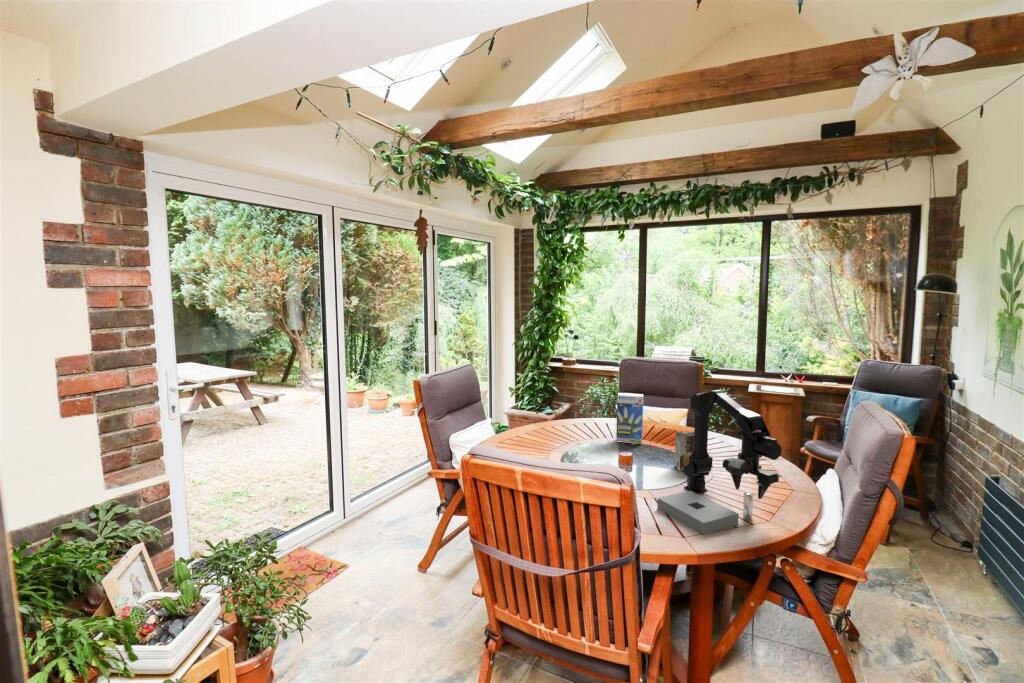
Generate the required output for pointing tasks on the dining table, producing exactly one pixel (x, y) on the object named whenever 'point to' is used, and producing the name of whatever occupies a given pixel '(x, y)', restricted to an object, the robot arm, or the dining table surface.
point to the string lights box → (629, 417)
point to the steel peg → (748, 506)
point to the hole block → (698, 512)
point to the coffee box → (683, 448)
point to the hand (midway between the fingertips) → (748, 493)
